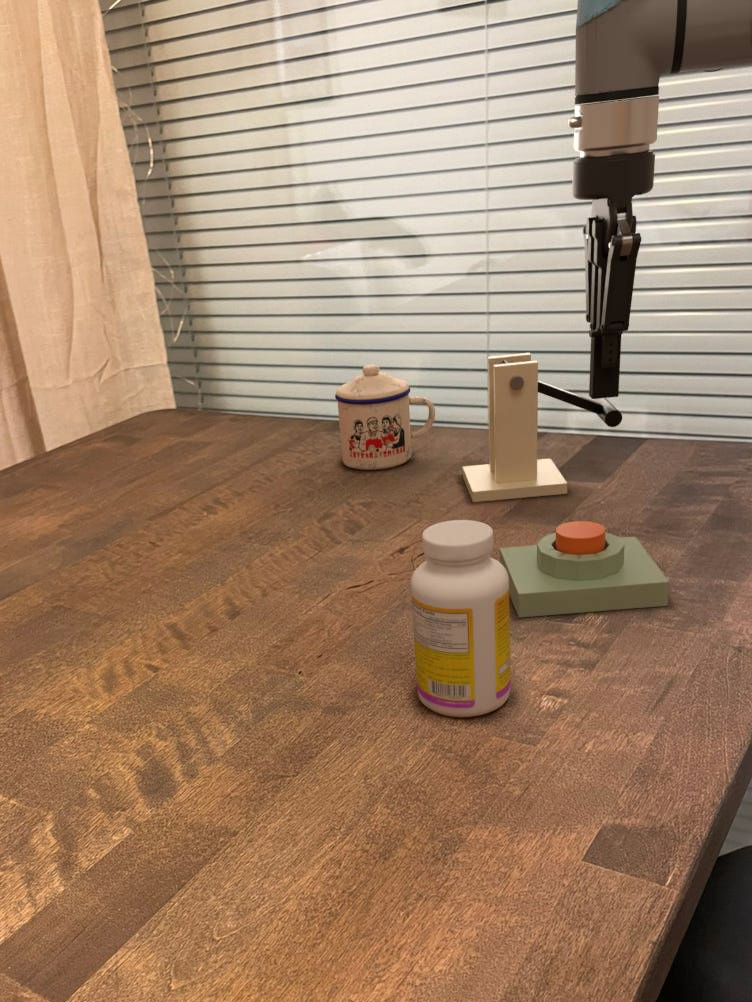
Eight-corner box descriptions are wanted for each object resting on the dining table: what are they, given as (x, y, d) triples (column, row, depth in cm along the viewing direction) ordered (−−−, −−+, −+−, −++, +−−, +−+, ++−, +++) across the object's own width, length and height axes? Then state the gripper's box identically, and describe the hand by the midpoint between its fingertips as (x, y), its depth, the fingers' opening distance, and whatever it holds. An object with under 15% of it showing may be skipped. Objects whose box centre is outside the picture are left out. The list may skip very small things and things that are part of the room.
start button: (598, 538, 87) (599, 519, 86) (610, 555, 83) (611, 536, 82) (551, 542, 87) (551, 523, 86) (560, 559, 84) (561, 540, 83)
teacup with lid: (343, 475, 121) (335, 378, 116) (337, 453, 130) (330, 362, 124) (442, 463, 121) (439, 366, 116) (430, 443, 129) (426, 351, 124)
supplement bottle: (485, 667, 76) (482, 507, 70) (527, 708, 70) (527, 537, 65) (403, 686, 75) (393, 525, 69) (438, 730, 69) (431, 558, 63)
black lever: (601, 417, 111) (612, 397, 110) (615, 432, 106) (627, 410, 104) (491, 376, 109) (500, 355, 108) (499, 389, 104) (509, 367, 103)
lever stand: (550, 468, 115) (552, 346, 109) (567, 493, 107) (570, 363, 101) (462, 476, 116) (459, 355, 110) (472, 502, 108) (469, 373, 102)
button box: (634, 558, 91) (636, 517, 89) (667, 606, 82) (671, 560, 80) (499, 570, 92) (499, 529, 90) (518, 618, 83) (518, 573, 81)
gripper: (559, 154, 102) (555, 385, 113) (589, 158, 91) (581, 415, 101) (635, 145, 102) (623, 378, 112) (675, 148, 90) (657, 408, 101)
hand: (603, 396), depth 107 cm, fingers closed
